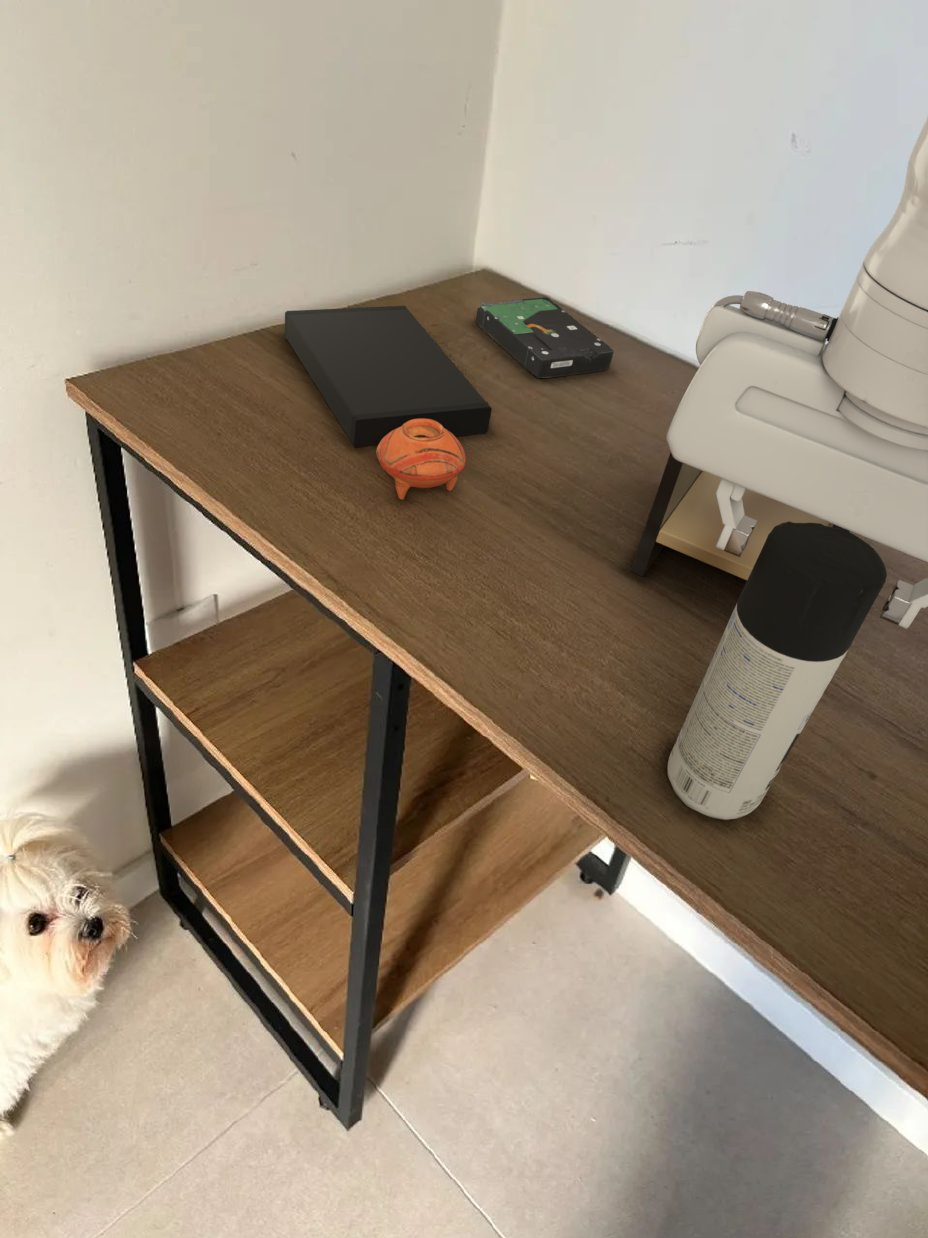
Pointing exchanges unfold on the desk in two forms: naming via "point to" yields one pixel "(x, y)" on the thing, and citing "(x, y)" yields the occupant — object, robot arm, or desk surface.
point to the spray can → (773, 665)
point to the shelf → (706, 521)
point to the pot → (421, 456)
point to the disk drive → (544, 337)
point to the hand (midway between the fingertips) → (810, 582)
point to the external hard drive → (383, 372)
